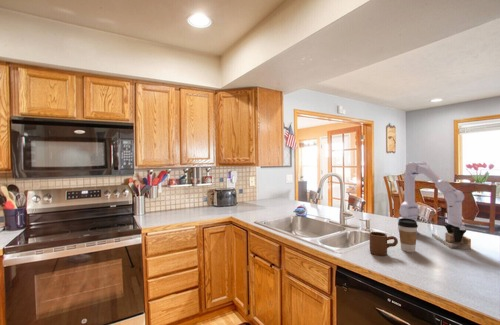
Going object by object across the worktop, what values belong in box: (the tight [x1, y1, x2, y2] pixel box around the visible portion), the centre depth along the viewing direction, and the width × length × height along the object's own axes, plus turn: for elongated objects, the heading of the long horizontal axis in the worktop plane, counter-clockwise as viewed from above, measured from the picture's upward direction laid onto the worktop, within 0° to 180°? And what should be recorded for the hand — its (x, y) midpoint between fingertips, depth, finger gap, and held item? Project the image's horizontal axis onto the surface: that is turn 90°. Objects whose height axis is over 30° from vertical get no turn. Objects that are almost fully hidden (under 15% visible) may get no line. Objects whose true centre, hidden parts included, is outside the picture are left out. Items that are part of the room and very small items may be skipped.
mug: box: [368, 231, 399, 257], centre depth 116 cm, size 12×8×9 cm, turn 61°
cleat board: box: [431, 233, 472, 250], centre depth 130 cm, size 9×19×5 cm, turn 165°
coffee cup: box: [397, 218, 419, 253], centre depth 120 cm, size 8×8×15 cm
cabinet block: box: [444, 232, 463, 244], centre depth 125 cm, size 6×4×7 cm
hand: (454, 240), depth 125 cm, fingers open, 5 cm apart
